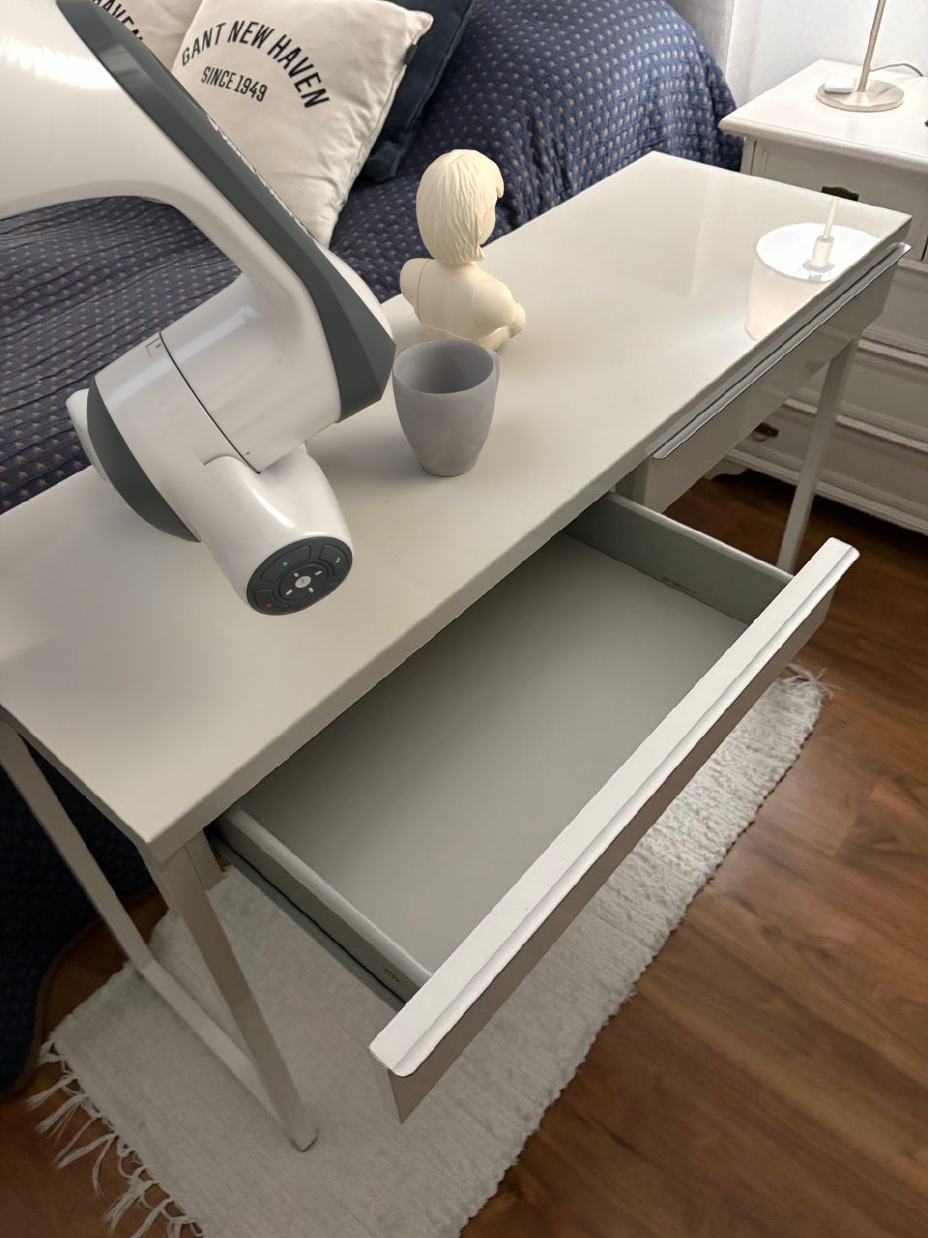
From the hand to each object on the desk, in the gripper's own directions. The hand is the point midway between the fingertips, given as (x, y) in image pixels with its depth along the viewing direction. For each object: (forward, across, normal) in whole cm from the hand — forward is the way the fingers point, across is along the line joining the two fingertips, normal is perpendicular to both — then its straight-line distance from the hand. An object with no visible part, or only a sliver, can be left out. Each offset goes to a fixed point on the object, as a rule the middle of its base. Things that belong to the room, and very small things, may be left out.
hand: (187, 350), depth 77 cm
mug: (-6, -21, +13) cm, 25 cm away
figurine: (+9, -29, +13) cm, 33 cm away
